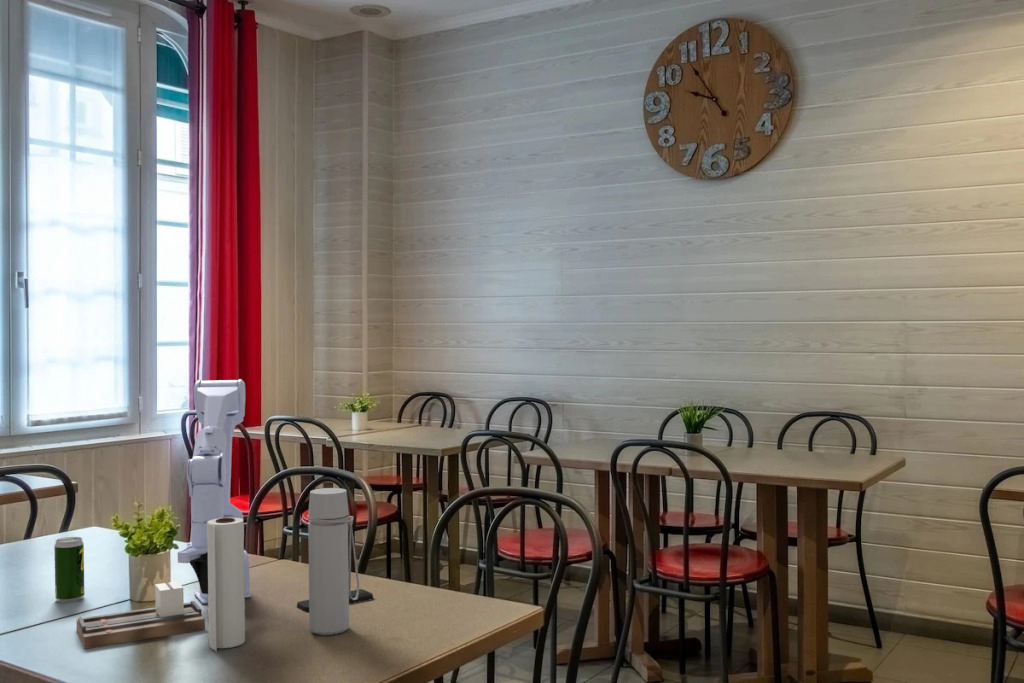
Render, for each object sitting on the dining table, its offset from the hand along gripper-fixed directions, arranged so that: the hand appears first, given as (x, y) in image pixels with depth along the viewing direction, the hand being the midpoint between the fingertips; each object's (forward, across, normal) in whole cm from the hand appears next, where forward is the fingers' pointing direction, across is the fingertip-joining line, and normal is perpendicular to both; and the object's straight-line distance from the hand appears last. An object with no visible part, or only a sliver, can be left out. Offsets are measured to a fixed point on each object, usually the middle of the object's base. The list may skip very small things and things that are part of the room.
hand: (208, 593), depth 182 cm
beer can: (+5, -2, -35) cm, 35 cm away
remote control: (+6, -17, +17) cm, 25 cm away
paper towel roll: (+5, +11, +12) cm, 17 cm away
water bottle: (+5, -2, +25) cm, 26 cm away
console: (+5, +9, -8) cm, 13 cm away
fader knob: (+3, +5, -5) cm, 7 cm away
